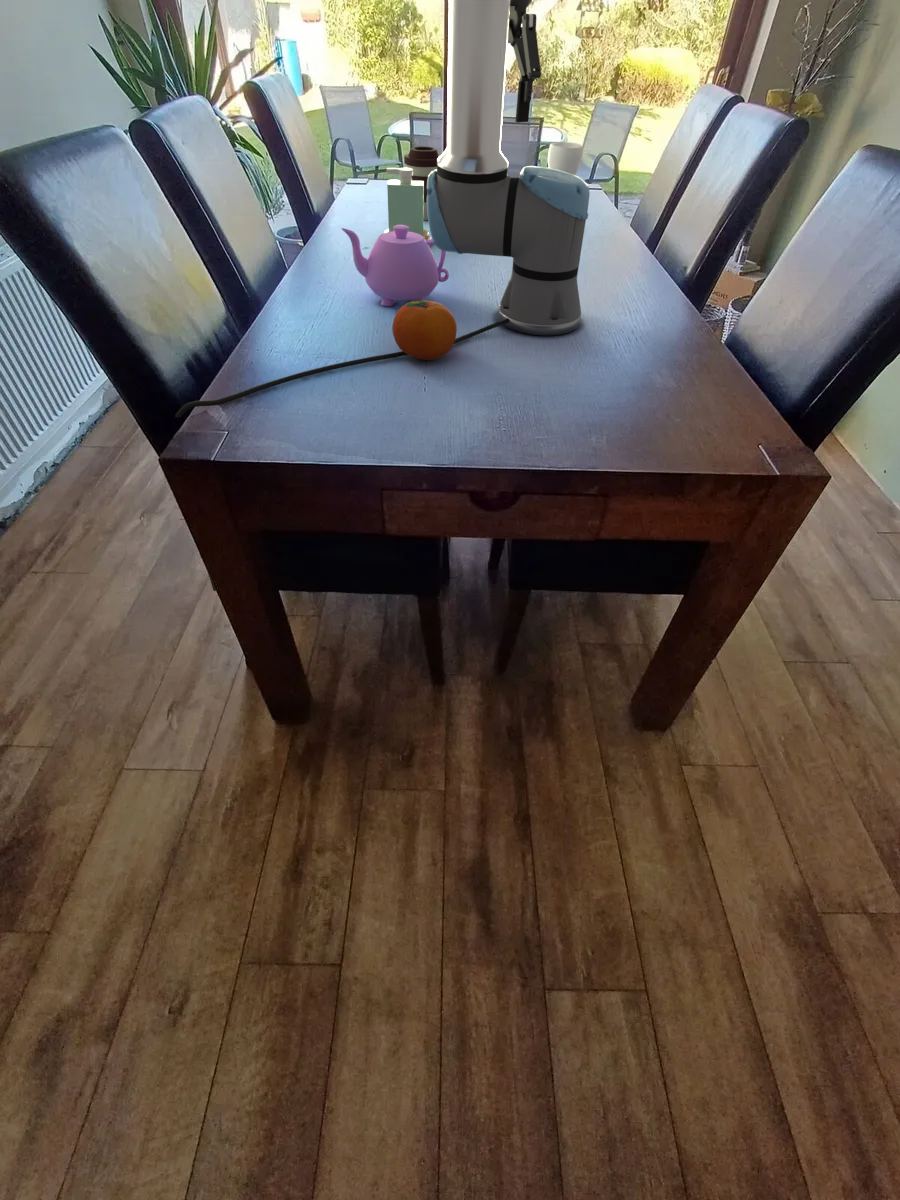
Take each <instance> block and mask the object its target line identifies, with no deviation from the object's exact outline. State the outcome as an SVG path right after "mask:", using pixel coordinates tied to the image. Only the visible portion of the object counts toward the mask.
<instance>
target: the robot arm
mask: <svg viewBox="0 0 900 1200" xmlns="http://www.w3.org/2000/svg"><path fill="white" fill-rule="evenodd" d="M532 3H533V0H448V36H447V37H448V39H447V40H448V42H447V49H448V50H447V107H446V111H447V112H446V113H447V115H446V123H447V124H446V148H445V150H444V151H443V152H442V154H440V155H441V156H440V157H439V158H438V160H437V170H434V171H432V172H431V173H430V174H429V177H428V181H427V213H428V220H427V221H428V228H429V231H430V237H431V239H433V241H434V243H435V244H434V246H435V247H436V248H438V249H439V250H440V251H441V250H444V251H446V252H451V253H457V254H458V255H464V254H469V255H482V256H495V257H507V258H508V257H509V258H512V267H511V274H510V277H509V280H508V282H507V285H506V287H505V289H504V292H503V294H502V297H501V300H500V302H499V304H498V313H497V319H498V321H496V322H494V323H491V324H489V325H486V326H483V327H480V328H479V329H476V330H474V331H471V332H468V333H466V334H463V335H461V336H458V337H456V339H455V342H454V345H455V344H458V343H460V342H463V341H465V340H468V339H470V338H473V337H475V336H477V335H480V334H483V333H485V332H487V331H490V330H492V329H495V328H498V327H501V326H504V327H506V328H508V329H510V330H512V331H514V332H518V333H522V334H527V335H534V336H559V335H564V334H568V333H571V332H573V331H575V330H577V329H578V327H579V326H580V323H581V317H582V309H581V308H582V307H581V300H580V294H579V293H580V292H579V285H578V273H579V267H580V260H581V254H582V247H583V241H584V236H585V228H586V221H587V220H588V219H589V211H588V210H589V204H590V193H591V192H590V188H589V185H588V183H587V182H586V181H585V180H583V179H582V178H581V177H579V176H577V175H576V176H575V175H573V174H570V173H567V172H564V171H561V170H557V169H552V168H548V167H547V166H541V165H540V166H539V165H538V166H535V165H527V166H524V167H523V168H522V169H521V171H520V173H519V176H509V175H508V173H509V161H508V159H507V158H506V157H505V156H504V154H503V153H502V151H501V142H502V127H503V113H504V112H503V111H504V98H505V97H504V96H505V86H506V85H505V83H506V69H507V54H508V44H510V46H511V47H512V48H513V51H514V54H515V55H514V56H515V59H516V62H517V66H518V70H519V74H520V78H519V80H518V85H517V86H518V87H517V99H516V110H515V111H516V112H515V123H529V117H530V107H531V102H532V95H533V84H534V82H535V80H537V79H540V78H541V77H542V71H541V70H542V68H541V61H540V53H539V44H538V34H537V14H536V13H527V8H528V7H531V5H532ZM406 356H408V355H407V354H406V353H404V352H403V351H402V350H400V351H396V352H392V353H387V354H386V353H385V354H379V355H374V356H368V357H362V358H357V359H353V360H348V361H344V362H338V363H334V364H329V365H325V366H320V367H316V368H312V369H308V370H304V371H301V372H298V373H294V374H290V375H287V376H284V377H281V378H278V379H275V380H274V379H273V380H271V381H268V382H264V383H262V384H261V383H260V384H259V385H256V386H253V387H250V388H248V389H245V390H242V391H239V392H236V393H233V394H231V395H228V396H225V397H221V398H217V399H209V400H195V401H194V400H193V401H190V402H187V403H185V404H184V405H183V406H181V408H179V410H178V411H177V412H176V413H175V416H174V418H178V419H179V418H182V417H183V415H185V413H186V412H188V410H190V409H193V408H198V407H212V406H220V405H223V404H227V403H230V402H233V401H235V400H238V399H241V398H244V397H246V396H249V395H252V394H254V393H258V392H260V391H264V390H267V389H269V388H272V387H276V386H278V385H282V384H285V383H289V382H291V381H295V380H299V379H302V378H306V377H309V376H313V375H316V374H322V373H325V372H329V371H333V370H338V369H343V368H347V367H352V366H357V365H362V364H368V363H372V362H373V363H374V362H377V361H384V360H389V359H395V358H400V357H406ZM205 568H206V571H207V575H208V578H209V581H210V584H211V587H212V588H211V589H212V591H214V592H217V591H218V590H216V588H215V585H214V583H213V581H212V579H211V577H210V574H209V572H208V569H207V567H206V566H205Z"/></svg>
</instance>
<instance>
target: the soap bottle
mask: <svg viewBox="0 0 900 1200" xmlns="http://www.w3.org/2000/svg"><path fill="white" fill-rule="evenodd" d="M386 175H398V176H399V179H388V180H387V184H386V185H387V186H386V187H387V218H388V219H387V220H388V221H387V222H388V228H387V229H386V230H384V232H383V233H386V232H392V231H394V229H393V227H394V226H396V225H406V226H408V227H409V230H408V232H414V233H418V234H420V235H422V236H423V237H424V239H425V240H426V239H428V236H429V232H428V231H427V230H425V228H424V222H425V220H424V181H411V176H413V169H412V168H407V167H386Z"/></svg>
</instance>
